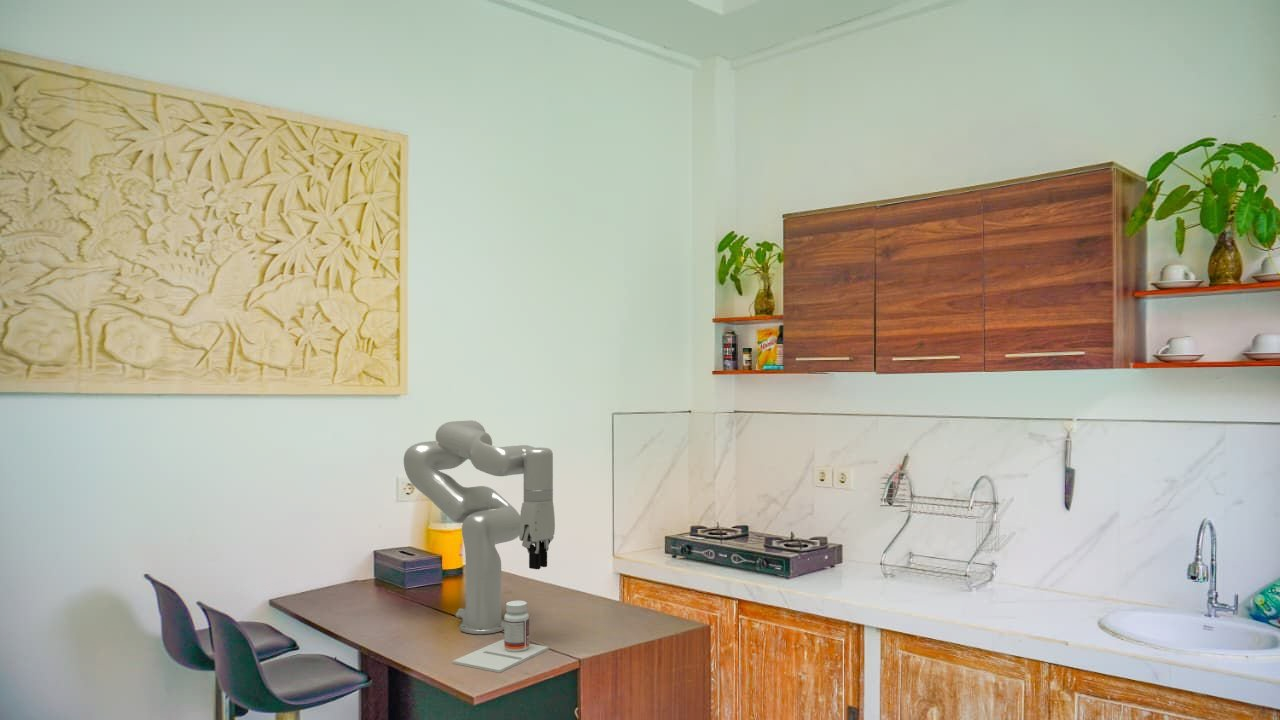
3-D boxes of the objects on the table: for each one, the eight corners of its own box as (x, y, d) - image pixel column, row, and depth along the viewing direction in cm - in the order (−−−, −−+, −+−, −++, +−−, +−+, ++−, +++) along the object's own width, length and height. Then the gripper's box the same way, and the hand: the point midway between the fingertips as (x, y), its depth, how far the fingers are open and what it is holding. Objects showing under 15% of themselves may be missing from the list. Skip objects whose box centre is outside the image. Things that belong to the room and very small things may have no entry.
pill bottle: (518, 643, 230) (518, 598, 231) (534, 648, 226) (534, 602, 226) (499, 648, 226) (498, 603, 226) (515, 654, 222) (515, 607, 222)
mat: (452, 663, 217) (452, 660, 217) (503, 641, 234) (503, 638, 234) (499, 672, 210) (499, 669, 210) (548, 649, 228) (548, 646, 228)
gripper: (543, 491, 243) (543, 560, 243) (507, 498, 229) (507, 572, 229) (567, 493, 239) (567, 563, 239) (532, 501, 225) (532, 575, 225)
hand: (538, 567), depth 234 cm, fingers closed
